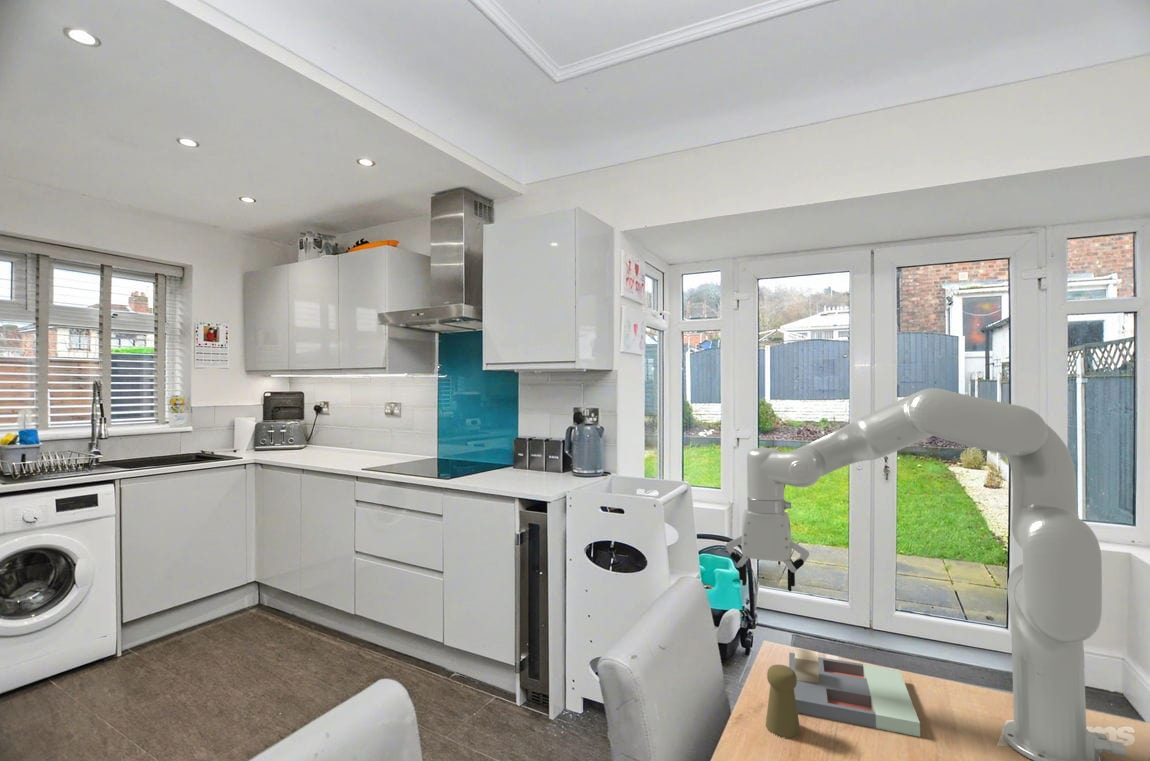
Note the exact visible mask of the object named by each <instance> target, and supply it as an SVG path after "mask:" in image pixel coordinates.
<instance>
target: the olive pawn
mask: <svg viewBox="0 0 1150 761" xmlns="http://www.w3.org/2000/svg"><path fill="white" fill-rule="evenodd" d="M766 677H767V678H766V679H767V682H768V684H769V685H770V686H769V692H768V693H769V694H768V702H767V711H766V718H765V719H766V720H765V728H766V727H767V728H766V729H768V730H767V731H768V732H769V733H771V734H772V733H773V735H774V734H775V735H774V736H776V735H777V736H776V737H779V736H780V737H779V738H782V737H785V738H784V739H795V738H797V737H799V736H800V734H801V727H800V720H799V713H797V706H796V700H795V693H794V688H795V687H796V684H797V677H796V674H795V672H794V671H793V670H792V669H791V668H789V666H787V665H784V664H773V665H771V666H769V668H768V669H767V672H766ZM794 737H795V738H794Z"/></svg>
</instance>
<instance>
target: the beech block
mask: <svg viewBox="0 0 1150 761" xmlns="http://www.w3.org/2000/svg"><path fill="white" fill-rule="evenodd" d="M794 653H795V674H796V677H797V680H799V681H805V682H810V683H816V684H819V661H818V657H819V654H818V651H814V650H807V649H800V648H794Z"/></svg>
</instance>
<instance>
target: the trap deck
mask: <svg viewBox="0 0 1150 761" xmlns="http://www.w3.org/2000/svg"><path fill="white" fill-rule="evenodd" d="M788 654H789V655H788V656H789V658H788V660H789V661H788V667H789V668H791V669H792V670H793V671H794V672H795V652H788ZM818 661H819V684H816V683H810V682H805V681H799V680H797V684H796V687H795V688H794V693H795V700H796V706H797V713H798V714H800V713H802V714H801V715H805V714H806V716H810V715H811V717H816V718H821V719H826V720H831V721H836V722H840V723H841V722H843V723H848V724H850V725H851V724H853V725H856V726H857V725H858V726H862V727H868V728H872V729H877V730H884V731H888V732H893V733H899V734H903V735H907V736H914V737H918V738H920V737H921V725H920V724H921V722H920V720H919V717H918V715H917V711H916V709H915V707H914V705H913V704H914V703H913V702H912V699H911V696H910V692H909V691H908V689H907V685H906V683H905V680H904V678H903V675H902V672H901V670H900V669H896V668H892V667H885V666H878V665H872V666H869V665H870V664H867V663H861V662H858V663H857V662H852V661H846V660H841V659H833V658H828V657H827V658H826V657H820V656H818ZM874 666H876V667H874ZM879 667H881V668H879ZM884 668H886V669H884ZM887 669H890V670H887ZM892 670H896V671H892ZM898 671H900V672H898Z"/></svg>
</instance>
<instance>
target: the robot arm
mask: <svg viewBox="0 0 1150 761" xmlns="http://www.w3.org/2000/svg"><path fill="white" fill-rule="evenodd" d="M932 437H935V438H939V439H943V440H946V441H949V442H954V443H956V444H960V445H965V446H970V447H973V448H977V449H980V450H981V449H982V450H986V451H989V452H994V453H997V454H1001V455H1004V456H1005V457H1006V459H1007V460H1008V464H1009V465H1010V470H1011V476H1012V480H1011V481H1012V482H1011V483H1012V517H1011V519H1012V520H1011V532H1012V537H1013V539H1014V540H1015V542H1016V544H1018V546H1019V547H1020V549H1022V563H1021V564H1020V565H1018V566H1016V567H1015V568H1014V569H1013V570H1012V571H1011V573H1010V575H1009V576H1008V581H1007V585H1006V587H1007V588H1006V589H1007V590H1006V591H1007V601H1008V602H1007V603H1008V611H1009V618H1010V632H1011V634H1010V635H1011V664H1012V665H1011V666H1012V668H1011V669H1012V695H1013V696H1012V699H1013V721H1009V722H1007V723H1005V724H1004V726H1003V728H1002V729H1003V737H1004V740H1005V741H1006V742H1007V743H1008V745H1009V746H1010V747H1012V748H1013V749H1014V750H1015V751H1016V752H1018V753H1020V754H1021V755H1022V756H1024V757H1026V758H1028V759H1030V760H1032V761H1101V756H1100V755H1099V754H1102V752H1103V753H1109V754H1110V755H1116V756H1120V757H1121V756H1123V757H1126V756H1127V750H1126V746H1125V745H1124V743H1123V742H1120V741H1115V740H1109V739H1108V737H1107V735H1106V734H1105V733H1102V732H1096V731H1095V732H1092V731H1089V730H1088V729H1087V710H1086V709H1087V708H1086V705H1087V704H1086V680H1085V679H1086V676H1085V647H1084V641H1086V640H1088V639H1090V638H1091V637H1092V636H1094V635H1095V633H1096V632H1097V630H1098V629H1099V627H1100V624H1101V620H1102V611H1103V608H1102V607H1103V603H1102V602H1103V601H1102V600H1103V599H1102V598H1103V597H1102V595H1103V590H1102V589H1103V588H1102V587H1103V583H1102V581H1103V579H1102V576H1103V574H1102V573H1103V572H1102V570H1103V569H1102V566H1103V565H1102V564H1103V563H1102V562H1103V560H1102V551H1101V546H1100V543H1099V541H1098V538H1097V536H1096V534H1095V533H1094V531H1093V530H1092V529H1091V527H1090V526H1089V525H1088V524H1087V523H1086V522H1084V521H1083V519H1080V518H1079V517H1080V516H1079V508H1078V492H1077V491H1078V490H1077V476H1076V474H1077V473H1076V470H1075V464H1074V460H1073V457H1072V454H1071V453H1070V451H1069V449H1068V447H1067V445H1066V444H1065V442H1064V440H1062V438H1061V437H1060V435H1059V434H1058V433H1057V432H1056V431H1055V430H1054V429H1052V427H1050V426H1049V425H1048V423H1046V422H1045V420H1044V418H1042V416H1041V415H1040V414H1039V413H1037V412H1036V411H1034V410H1032V409H1030V408H1029V407H1025V406H1021V405H1017V404H1012V403H1006V402H1000V401H997V400H993V399H987V398H982V397H977V396H972V395H969V394H968V395H967V394H963V393H960V392H955V391H951V390H947V389H944V388H937V387H936V388H925V389H921V390H919V391H917V392H915V393H912V394H910V395H908V396H905V397H903V398H902V399H901V398H900V399H899V400H897V401H895V402H893V403H890V404H888V405H886V406H884V407H882V408H879V409H877V410H874V411H873V412H870V413H868V414H865V415H864V416H861V417H860V418H858V419H856V420H853V421H851V422H850V423H848V424H846V425H845V426H844V427H842V428H839V429H837V430H836V431H833V432H832V433H831V432H830V433H829V434H827V435H825V436H823V437H820V438H818V439H816V440H813V441H811V442H809V443H806V444H804V445H803V446H800V447H797V448H796V449H794V450H793V451H785V452H784V451H780V450H779V449H775V448H767V447H764V448H763V447H759V448H757V447H756V448H752V449H750V450H748V452H747V455H746V480H747V481H746V486H747V488H746V491H747V493H746V494H747V495H746V496H747V499H746V500H747V509H744V512H743V515H742V517H743V518H742V525H741V527H742V528H741V536H739V537H736V538H735V539H732V540H731V541H728V542H726V543H725V545H724V546H725V548H726V552H728V554H729V556H730V558H731V559H732V560H733V561H734V562H735V563H736V565H737V566H738V576H739V579H738V580H739V581H741V583H742V587H743V586H744V587H745V586H746V585H747V581H748V576H747V574H748V572H747V570H748V568H747V566H748V565H747V564H746V562H747V561H748V560H749V559H754V560H760V561H761V560H762V561H769V562H771V561H772V562H783V563H784V565H785V566H786V567H787V591H789V592H792V587H796V573H797V570H799V569H800V568H801V567H803V565H804V564H805V563H806V561H807V559H808V557H809V556H810V551H809V550H807V549H806V548H804V547H803V546H801V545H799V544H798V543H797V542H796V541H793V540H792V531H791V530H792V529H791V528H792V527H791V522H790V516H789V513H788V512H787V511H786V510H788V509H792V502H791V501H786V499H785V491H784V490H785V485H786V486H791V487H796V488H809V487H811V486H814V485H815V484H817V482H818V481H819V480H820V478H821V477H824V476H826V475H828V474H830V473H833V472H835V471H837V470H840V469H842V468H844V467H848V466H850V465H852V464H855V463H858V462H865V461H872V460H873V461H874V460H878V459H881V458H884V457H886V456H889V455H891V454H893V453H896V452H898V451H901V450H902V449H905V448H907V447H911V446H912V445H915V444H917V443H920V442H922V441H925V440H926V439H929V438H932ZM740 545H741V554H742V555H741V556H740V554H739V553H738V552H737V551H736V550H735V548H736V547H737V546H740ZM793 550H794V552H795V551H796V552H797V553H798V554H800V556H798V558H797V559H796V560H793V559H792V553H793V552H792V551H793Z"/></svg>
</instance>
